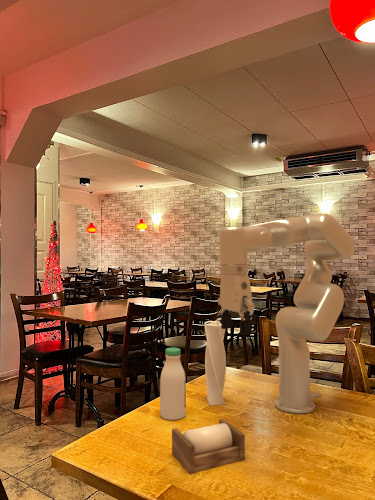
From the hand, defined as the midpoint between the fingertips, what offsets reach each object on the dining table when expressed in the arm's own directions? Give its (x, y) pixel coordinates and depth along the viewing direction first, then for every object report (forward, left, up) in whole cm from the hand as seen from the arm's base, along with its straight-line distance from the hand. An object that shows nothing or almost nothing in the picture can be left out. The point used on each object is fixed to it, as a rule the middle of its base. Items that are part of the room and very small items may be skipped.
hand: (235, 331), depth 110 cm
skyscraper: (-4, -19, -27) cm, 33 cm away
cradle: (+15, +11, -27) cm, 32 cm away
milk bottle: (+13, -15, -27) cm, 34 cm away
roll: (+15, +11, -26) cm, 32 cm away
